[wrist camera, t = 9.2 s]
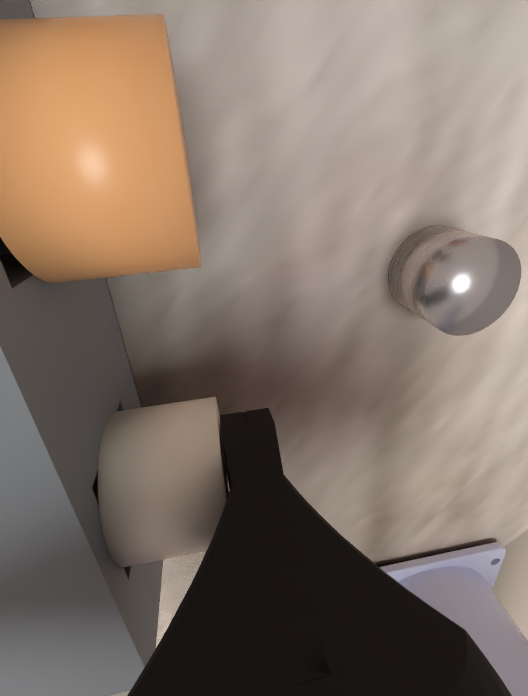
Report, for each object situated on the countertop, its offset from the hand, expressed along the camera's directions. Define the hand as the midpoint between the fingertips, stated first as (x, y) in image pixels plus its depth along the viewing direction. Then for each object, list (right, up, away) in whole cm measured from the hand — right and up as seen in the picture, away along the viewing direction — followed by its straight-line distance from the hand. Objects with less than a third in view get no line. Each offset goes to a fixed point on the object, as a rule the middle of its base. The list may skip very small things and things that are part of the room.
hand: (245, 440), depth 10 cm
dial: (+6, +5, +1) cm, 8 cm away
